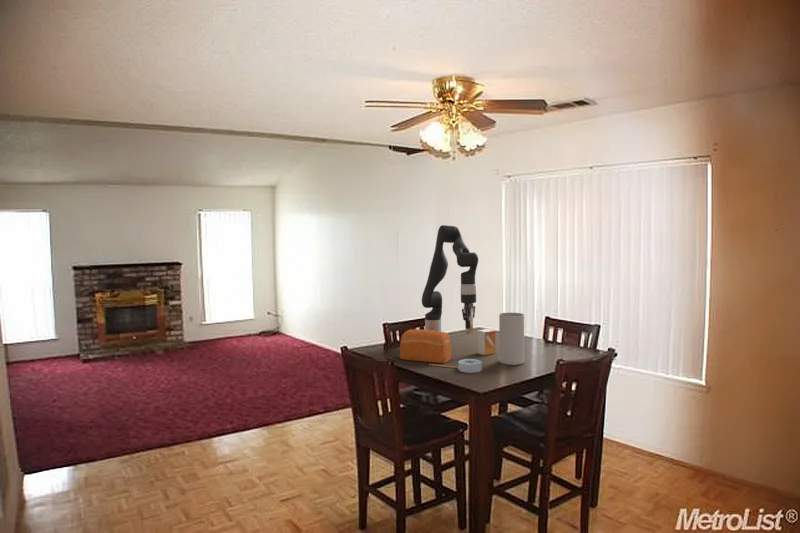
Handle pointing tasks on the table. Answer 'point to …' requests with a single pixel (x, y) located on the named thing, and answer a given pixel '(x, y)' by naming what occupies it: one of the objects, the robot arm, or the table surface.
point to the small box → (486, 341)
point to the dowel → (470, 330)
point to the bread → (425, 346)
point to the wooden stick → (443, 366)
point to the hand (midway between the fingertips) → (469, 327)
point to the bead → (469, 365)
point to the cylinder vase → (511, 338)
